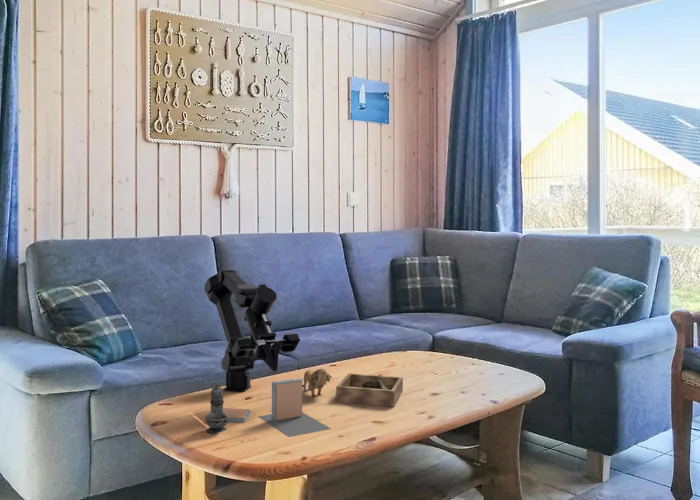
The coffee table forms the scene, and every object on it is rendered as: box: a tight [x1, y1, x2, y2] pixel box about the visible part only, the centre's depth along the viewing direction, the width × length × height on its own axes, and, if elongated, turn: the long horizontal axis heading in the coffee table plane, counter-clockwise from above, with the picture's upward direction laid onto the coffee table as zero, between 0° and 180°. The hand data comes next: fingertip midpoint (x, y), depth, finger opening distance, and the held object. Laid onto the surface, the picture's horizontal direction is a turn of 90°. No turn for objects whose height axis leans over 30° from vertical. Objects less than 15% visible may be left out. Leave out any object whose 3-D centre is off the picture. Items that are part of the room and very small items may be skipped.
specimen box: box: [335, 372, 404, 408], centre depth 198 cm, size 17×16×4 cm
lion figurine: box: [302, 368, 333, 398], centre depth 200 cm, size 15×5×9 cm, turn 34°
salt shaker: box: [204, 383, 229, 435], centre depth 166 cm, size 6×6×12 cm
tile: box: [271, 377, 303, 421], centre depth 175 cm, size 2×8×10 cm, turn 122°
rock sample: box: [361, 381, 389, 390], centre depth 199 cm, size 10×8×9 cm
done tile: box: [223, 407, 252, 423], centre depth 176 cm, size 10×8×2 cm
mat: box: [258, 411, 332, 438], centre depth 172 cm, size 18×12×1 cm, turn 32°
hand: (275, 370), depth 181 cm, fingers closed
